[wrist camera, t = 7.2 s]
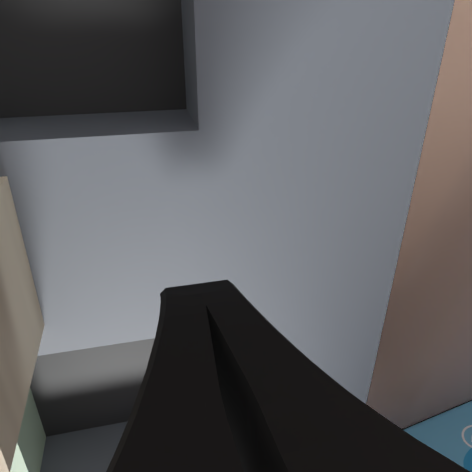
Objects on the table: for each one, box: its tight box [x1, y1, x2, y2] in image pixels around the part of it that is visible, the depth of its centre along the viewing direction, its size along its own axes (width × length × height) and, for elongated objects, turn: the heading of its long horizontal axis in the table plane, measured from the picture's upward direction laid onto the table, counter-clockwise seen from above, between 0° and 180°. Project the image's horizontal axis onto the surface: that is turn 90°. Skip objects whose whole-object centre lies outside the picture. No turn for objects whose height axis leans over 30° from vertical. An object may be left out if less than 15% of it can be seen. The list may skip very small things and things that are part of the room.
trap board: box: [0, 0, 455, 472], centre depth 11 cm, size 18×20×4 cm
